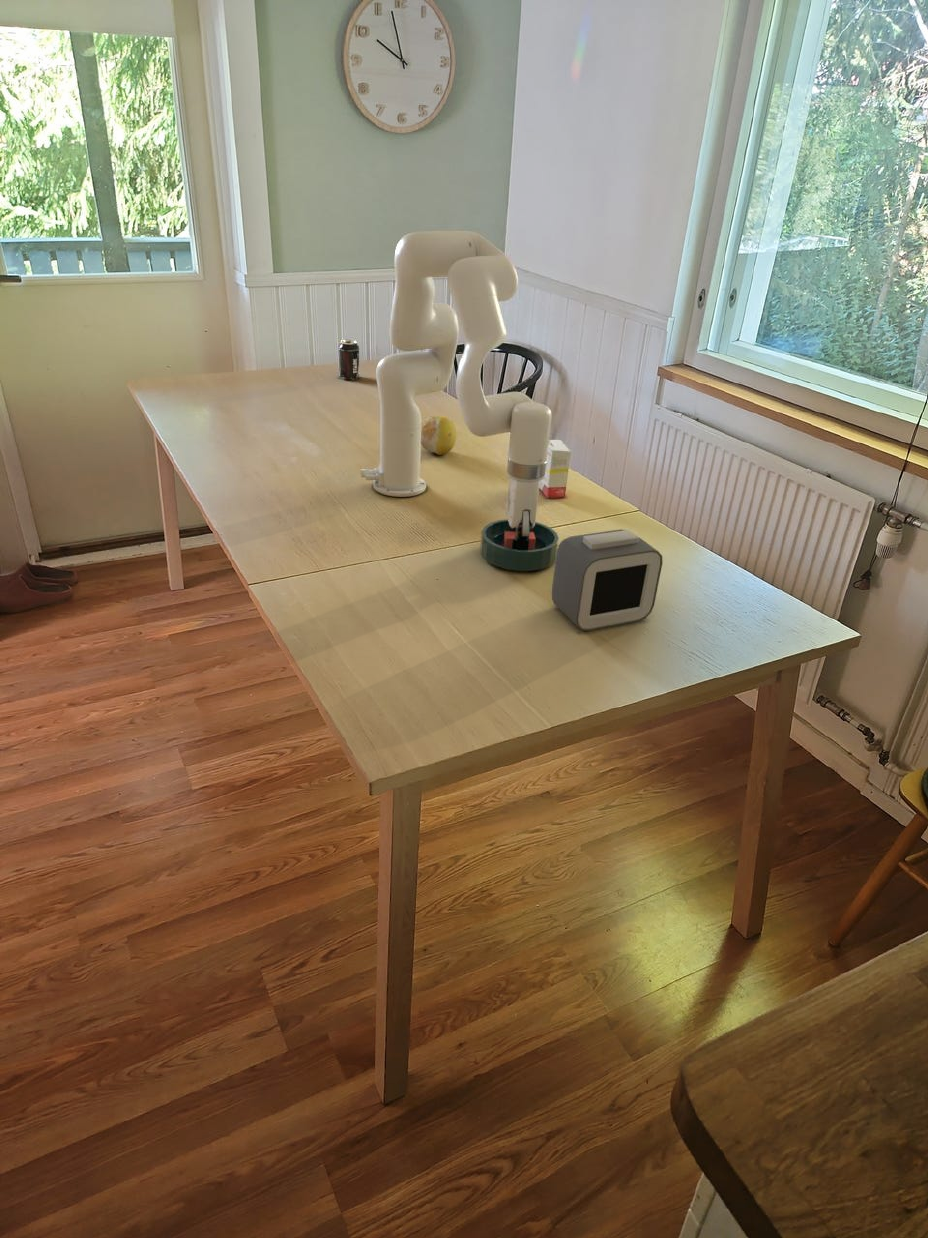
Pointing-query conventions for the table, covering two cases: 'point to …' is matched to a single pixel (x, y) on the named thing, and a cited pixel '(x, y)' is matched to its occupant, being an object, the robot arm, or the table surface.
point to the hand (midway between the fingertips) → (518, 551)
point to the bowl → (518, 558)
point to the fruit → (438, 434)
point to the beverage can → (348, 359)
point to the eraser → (511, 535)
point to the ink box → (556, 470)
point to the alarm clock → (605, 579)
